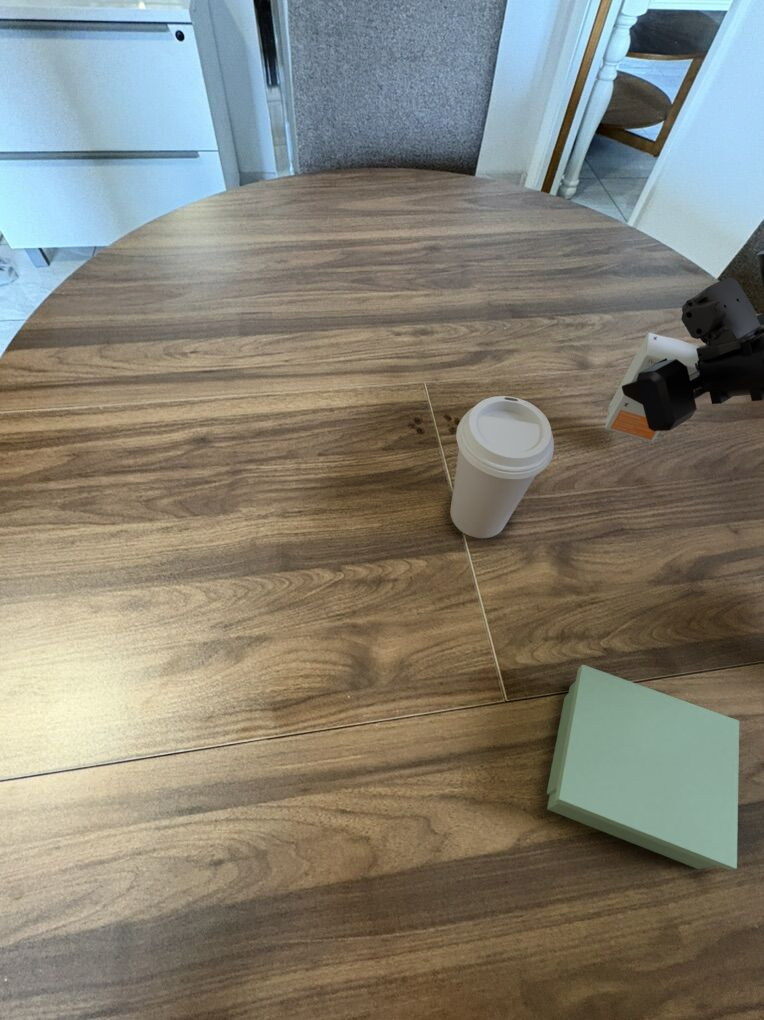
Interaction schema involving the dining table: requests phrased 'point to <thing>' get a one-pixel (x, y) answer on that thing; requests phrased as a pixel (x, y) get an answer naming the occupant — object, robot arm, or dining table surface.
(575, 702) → the stand
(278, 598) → the dining table surface
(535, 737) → the dining table surface
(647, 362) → the cosmetic box
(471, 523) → the coffee cup
